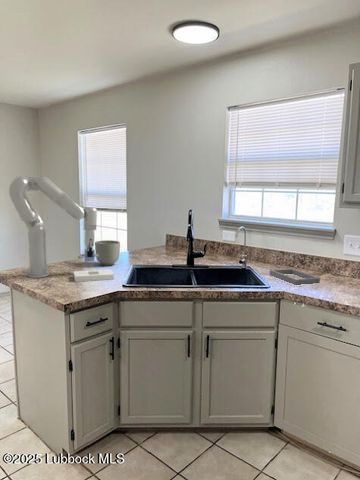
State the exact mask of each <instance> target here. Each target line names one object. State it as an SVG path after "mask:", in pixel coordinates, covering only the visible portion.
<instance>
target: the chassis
mask: <svg viewBox="0 0 360 480" xmlns="http://www.w3.org/2000/svg"><path fill="white" fill-rule="evenodd" d="M114 275H115V274H114V273H113V271H111V269H95V270H94V269H93V270H80V271H78V270H77V271H76V270H75V271H74V270H73V278H74V282H75V283H79V282H93V281H108V280H110V281H111V280H114Z"/></svg>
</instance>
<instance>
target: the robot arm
mask: <svg viewBox="0 0 360 480" xmlns="http://www.w3.org/2000/svg"><path fill="white" fill-rule="evenodd" d="M26 191H27V192H28V191H30V192H31V191H36V192H37V191H40V192H41V193H42V194H43V195H45V196H46V197H47V198H48V199H50V200H51V201H52V202H53V203H54V204H56V206H58V207H59V208H61V209H62V210H63V211H65V212H66V213H67V214H68V215H69V216H71V217H72V218H73V219H74V220H75V221H77V220H78V221H79V220H82V219H83V230H84V231H85V232H84V245H85V246H86V249H88V251H87V257H93V249H94V248H93V246H94V247H95V231H97V220H98V219H97V217H98V215H97V214H98V212H97V211H98V210H97V208H96V207H92V206H91V207H83V206H79V205H78V203H76V202H75V201H74V200H72V198H71V197H69V196H68V194H67V193H65V191H64V190H63V189H61V188H60V187H59V186H57V185H56V184H55V183H54V182H53V181H52V180H50V178H48V177H47V176H22V175H20V176H17V177H15V178H14V179H13V180H12V182H11V183H10V185H9V188H8V194H9V197H10V200H11V202H12V204H13V206H14V207H15V210H16V212H17V214H18V216H19V218H20V220H21V221H23V223H24V224H25V225H26V227H27V229H28V230H27V238H28V254H29V256H28V257H29V268H28V269H21V273H23V274H26V275H27V276H26V277H28V278H33V279H37V278H38V279H39V278H47V277H49V276H50V272H49V271H48V270H47V269H48V266H47V239H46V235H47V233H46V232H47V228H46V225H45V224H44V222H43V219H42V217H41V215H40V213H39V212H38V211H37V209H36V208H35V207H33V206H32V204H31V202H30V200H29V197H27V194H26Z"/></svg>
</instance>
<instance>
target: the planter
mask: <svg viewBox="0 0 360 480" xmlns="http://www.w3.org/2000/svg"><path fill="white" fill-rule="evenodd" d="M94 250H95V254H98V255H99V257H95V258H96V261H97V262H98V263H99V264H100V265H101V266H105V267H111V266H114V265H115V263H117V262H118V260H119V258H120V252H121V242H120V241H118V240H108V239H107V240H97V241H94Z"/></svg>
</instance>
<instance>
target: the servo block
mask: <svg viewBox="0 0 360 480" xmlns="http://www.w3.org/2000/svg"><path fill="white" fill-rule="evenodd" d="M87 251H88V249H87V248H84V254H81V253H80V254H79V256H80V257H81V258H83V257H84V262H95V258H96V257H99V255H98V254H96V252H95V248H93V257H87Z"/></svg>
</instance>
